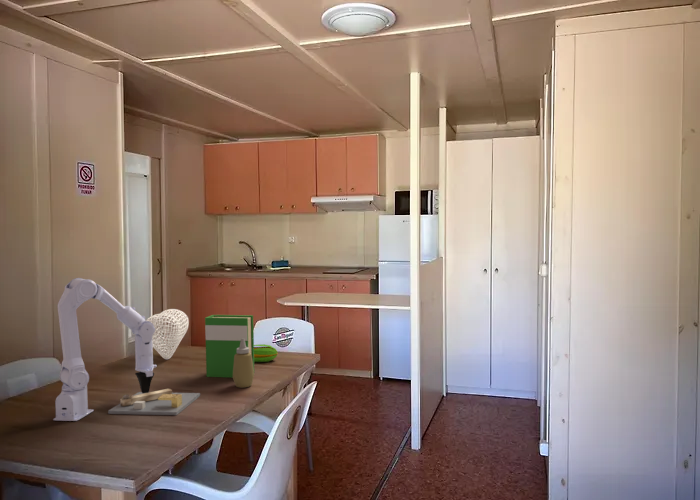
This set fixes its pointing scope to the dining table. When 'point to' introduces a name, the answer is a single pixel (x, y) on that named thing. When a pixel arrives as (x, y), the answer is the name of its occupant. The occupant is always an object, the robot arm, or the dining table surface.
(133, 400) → the link
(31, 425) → the dining table surface
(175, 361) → the dining table surface
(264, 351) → the pencil case
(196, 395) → the base plate
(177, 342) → the heart
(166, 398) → the keeper
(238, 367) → the squeeze bottle
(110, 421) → the dining table surface
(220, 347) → the hardback book
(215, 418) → the dining table surface
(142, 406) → the block
